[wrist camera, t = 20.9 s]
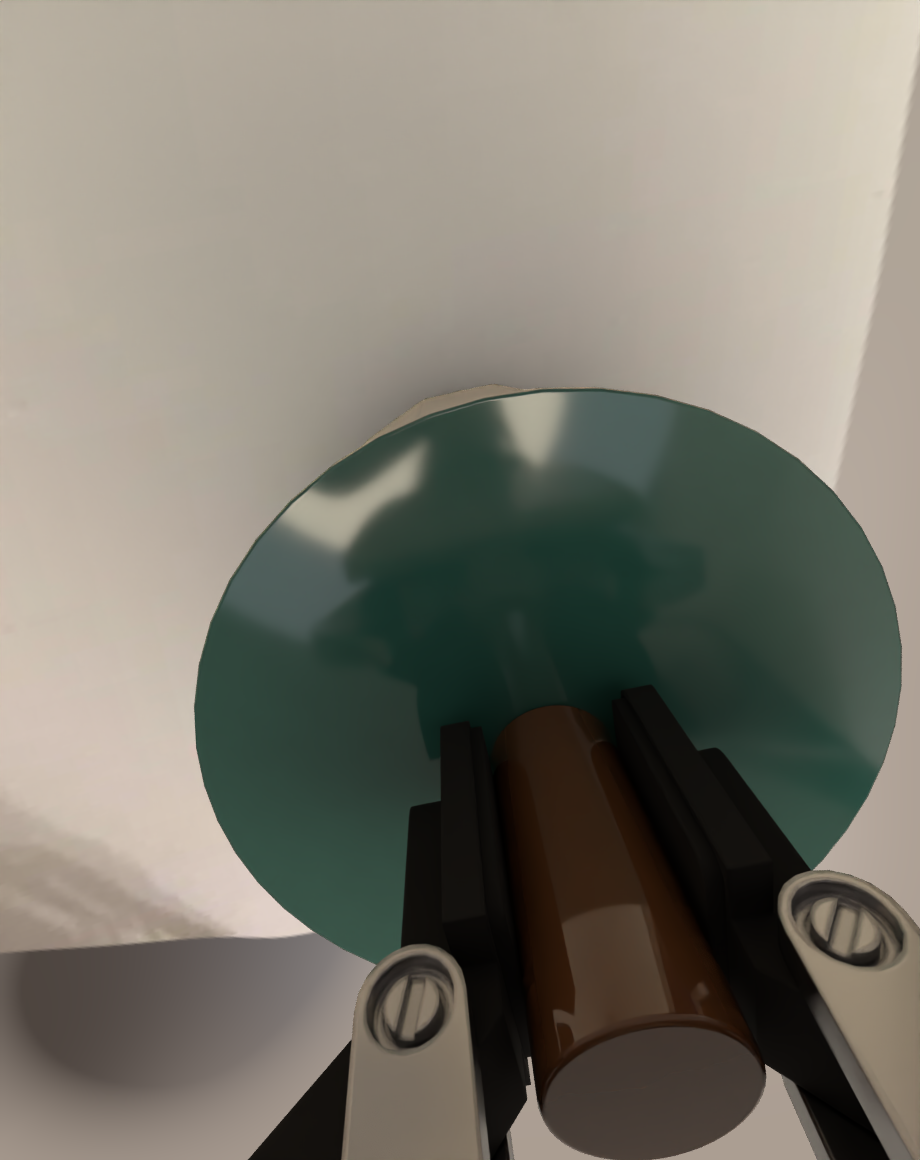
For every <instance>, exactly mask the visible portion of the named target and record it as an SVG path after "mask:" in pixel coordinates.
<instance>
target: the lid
mask: <svg viewBox="0 0 920 1160" xmlns="http://www.w3.org/2000/svg"><path fill="white" fill-rule="evenodd" d="M901 653H902V646H901V639H900V633H899V626H898V620H897V613H896V608H895V604H894V600H893V598H892V595H891V592H890V588H889V586H888V582H887V579H886V576H885V573H884V571H883V567H882V565H881V563H880V561H879V560H878V558H877V556H876V554H875V552H874V550H873V548H872V547H871V544H870V543H869V541H868V539H867V537H866V535H865V533H864V531H863V530H862V528H861V526H860V525H859V524H858V522H857V521H856V520H855V518H854V517H853V516H852V515H851V513H850V512H849V511H848V510H847V508H846V507H845V506H844V504H843V503H842V502H841V500H840V499H839V498H838V496H837V495H836V494H835V493H834V491H833V490H832V489H831V488H829V487H828V486H827V485H826V484H825V483H824V482H823V481H822V480H821V479H820V478H819V477H818V476H816V475H815V474H814V473H813V472H812V471H811V470H810V469H809V468H808V467H807V466H806V465H805V464H803V463H802V462H801V461H800V460H799V459H798V458H796V457H795V456H793V455H792V454H790V453H789V452H787V451H786V450H784V449H783V448H781V447H780V446H778V445H777V444H775V443H774V442H772V441H771V440H769V439H768V438H766V437H765V436H763V435H761V434H760V433H758V432H757V431H755V430H753V429H750V428H748V427H746V426H744V425H742V424H739V423H737V422H735V421H733V420H731V419H728V418H726V417H724V416H722V415H720V414H717V413H715V412H713V411H711V410H708V409H705V408H701V407H698V406H694V405H690V404H687V403H683V402H680V401H676V400H673V399H669V398H666V397H662V396H659V395H653V394H645V393H638V392H630V391H622V390H614V389H607V388H599V387H555V388H534V389H527V390H521V391H514V392H507V393H501V394H494V395H487V396H482V397H479V398H476V399H472V400H469V401H465V402H462V403H459V404H455V405H452V406H448V407H445V408H442V409H438V410H435V411H431V412H429V413H427V414H424V415H422V416H420V417H418V418H416V419H413V420H411V421H409V422H407V423H404V424H402V425H400V426H398V427H395V428H393V429H391V430H389V431H387V432H384V433H382V434H380V435H378V436H377V437H375V438H374V439H372V440H371V441H369V442H367V443H366V444H364V445H363V446H361V447H359V448H358V449H356V450H355V451H353V452H351V453H350V454H348V455H347V456H345V457H343V458H342V459H340V460H339V461H337V462H335V463H334V464H333V465H332V466H331V467H329V468H328V469H327V470H326V471H325V472H323V473H322V474H321V475H320V476H319V477H318V478H316V479H315V480H314V481H313V482H312V483H310V484H309V485H308V486H307V487H306V488H304V489H303V490H302V491H301V492H300V493H299V494H297V495H296V496H295V497H294V498H293V499H292V500H291V501H290V502H289V503H288V504H287V505H286V506H285V507H284V508H283V509H282V511H281V512H280V513H279V514H278V515H277V516H276V517H275V518H274V520H273V521H272V522H271V523H270V524H269V525H268V526H267V527H266V529H265V530H264V531H263V532H262V533H261V534H260V535H259V536H258V538H257V539H256V540H255V542H254V543H253V545H252V546H251V548H250V549H249V551H248V552H247V554H246V555H245V557H244V559H243V560H242V562H241V563H240V565H239V566H238V568H237V569H236V571H235V572H234V574H233V575H232V577H231V578H230V580H229V582H228V584H227V587H226V589H225V591H224V593H223V595H222V598H221V600H220V602H219V604H218V606H217V609H216V611H215V613H214V615H213V617H212V620H211V622H210V625H209V629H208V633H207V636H206V640H205V644H204V647H203V651H202V654H201V658H200V662H199V667H198V676H197V685H196V694H195V703H194V712H195V733H196V749H197V754H198V758H199V763H200V768H201V773H202V777H203V782H204V786H205V789H206V792H207V794H208V797H209V799H210V802H211V805H212V807H213V810H214V813H215V815H216V818H217V821H218V823H219V824H220V826H221V828H222V830H223V831H224V833H225V835H226V837H227V839H228V840H229V842H230V844H231V846H232V848H233V849H234V851H235V853H236V854H237V856H238V857H239V858H240V860H241V861H242V862H243V864H244V865H245V866H246V868H247V869H248V870H249V871H250V873H251V874H252V875H253V877H254V878H255V879H256V881H257V882H258V883H259V884H260V885H261V886H262V887H263V888H264V889H265V890H266V891H267V892H268V893H269V894H270V895H271V896H272V897H273V898H274V899H275V900H276V901H277V902H278V903H279V904H280V905H281V906H282V907H283V908H284V909H285V910H286V911H288V912H289V913H290V914H292V915H293V916H294V917H295V918H297V919H298V920H299V921H301V922H302V923H303V924H304V925H306V926H307V927H308V928H309V929H311V930H312V931H314V932H315V933H317V934H319V935H320V936H322V937H324V938H325V939H327V940H329V941H330V942H332V943H334V944H335V945H337V946H339V947H340V948H342V949H343V950H346V951H348V952H350V953H352V954H354V955H356V956H358V957H361V958H363V959H365V960H367V961H369V962H371V963H374V964H376V965H377V964H378V963H379V962H380V961H381V960H382V959H384V958H385V957H387V956H388V955H389V954H391V953H392V952H393V951H396V950H398V949H401V934H402V919H403V903H404V887H405V871H406V855H407V839H408V823H409V812H410V808H411V806H416V805H422V804H427V803H432V802H437V801H441V774H440V727H441V726H444V725H449V724H454V723H459V722H464V721H469V722H470V726H471V728H474V727H480V726H481V727H482V730H483V734H484V739H485V743H486V747H487V752H488V756H489V760H490V764H491V769H492V773H493V778H494V786H495V793H496V800H497V807H498V814H499V822H500V829H501V836H502V843H503V851H504V858H505V865H506V872H507V879H508V887H509V894H510V901H511V908H512V916H513V923H514V930H515V937H516V944H517V952H518V959H519V966H520V973H521V981H522V993H523V1001H524V1008H525V1015H526V1023H527V1030H528V1037H529V1044H530V1052H531V1059H532V1066H533V1074H534V1081H535V1088H536V1095H537V1102H538V1108H539V1111H540V1114H541V1116H542V1118H543V1120H544V1122H545V1124H546V1126H547V1127H548V1129H549V1130H550V1132H551V1133H552V1134H553V1135H554V1136H555V1137H556V1138H557V1139H559V1140H560V1141H561V1142H563V1143H564V1144H566V1145H567V1146H569V1147H571V1148H573V1149H575V1150H577V1151H579V1152H582V1153H584V1154H588V1155H591V1156H594V1157H599V1158H604V1159H611V1160H652V1159H660V1158H665V1157H671V1156H675V1155H679V1154H682V1153H686V1152H689V1151H692V1150H695V1149H698V1148H700V1147H703V1146H705V1145H707V1144H709V1143H711V1142H714V1141H715V1140H717V1139H719V1138H721V1137H722V1136H724V1135H726V1134H727V1133H729V1132H730V1131H732V1130H733V1129H735V1128H736V1127H737V1126H738V1125H739V1124H741V1123H742V1122H743V1121H744V1120H745V1119H746V1118H747V1117H748V1116H749V1115H750V1114H751V1113H752V1111H753V1110H754V1109H755V1107H756V1105H757V1104H758V1103H759V1101H760V1099H761V1097H762V1095H763V1092H764V1088H765V1083H766V1070H765V1062H764V1058H763V1055H762V1052H761V1050H760V1048H759V1046H758V1044H757V1041H756V1039H755V1037H754V1035H753V1033H752V1031H751V1029H750V1027H749V1025H748V1023H747V1020H746V1018H745V1016H744V1014H743V1012H742V1010H741V1008H740V1006H739V1004H738V1001H737V999H736V997H735V995H734V993H733V991H732V989H731V987H730V985H729V983H728V980H727V978H726V976H725V974H724V972H723V970H722V968H721V966H720V964H719V962H718V959H717V957H716V955H715V953H714V951H713V949H712V947H711V945H710V943H709V941H708V938H707V936H706V934H705V932H704V930H703V928H702V926H701V924H700V922H699V920H698V917H697V915H696V913H695V911H694V909H693V907H692V905H691V903H690V901H689V898H688V896H687V894H686V892H685V890H684V888H683V886H682V884H681V882H680V880H679V877H678V875H677V873H676V871H675V869H674V867H673V865H672V863H671V861H670V859H669V856H668V854H667V852H666V850H665V848H664V846H663V844H662V842H661V840H660V838H659V835H658V833H657V831H656V829H655V827H654V825H653V823H652V821H651V819H650V817H649V814H648V812H647V810H646V808H645V806H644V804H643V802H642V800H641V798H640V796H639V793H638V791H637V789H636V787H635V785H634V783H633V781H632V779H631V777H630V774H629V772H628V770H627V768H626V766H625V764H624V762H623V760H622V758H621V756H620V753H619V751H618V749H617V741H616V734H615V726H614V718H613V711H612V700H615V699H620V698H621V691H622V690H624V689H629V688H634V687H639V686H644V685H649V684H651V685H653V686H654V688H655V689H656V690H657V692H658V693H659V695H660V696H661V698H662V699H663V701H664V702H665V704H666V705H667V707H668V708H669V710H670V711H671V712H672V714H673V715H674V717H675V718H676V720H677V721H678V723H679V724H680V726H681V727H682V729H683V730H684V732H685V733H686V734H687V736H688V737H689V739H690V740H691V742H692V743H693V745H694V746H695V748H696V749H697V751H699V750H704V749H709V748H714V747H716V748H718V749H720V750H721V751H722V752H723V753H724V754H725V755H726V757H727V758H728V759H729V761H730V762H731V763H732V765H733V766H734V767H735V769H736V770H737V771H738V773H739V774H740V775H741V777H742V778H743V779H744V781H745V782H746V783H747V785H748V786H749V787H750V789H751V790H752V791H753V793H754V794H755V796H756V797H757V798H758V800H759V801H760V802H761V804H762V805H763V806H764V808H765V809H766V810H767V812H768V813H769V814H770V816H771V817H772V818H773V820H774V821H775V822H776V824H777V825H778V826H779V828H780V829H781V830H782V832H783V833H784V834H785V836H786V837H787V838H788V840H789V841H790V842H791V844H792V845H793V846H794V848H795V849H796V850H797V852H798V853H799V854H800V856H801V857H802V859H803V860H804V861H805V863H806V864H807V865H808V867H809V868H810V869H811V871H812V870H813V869H814V868H815V867H816V866H817V865H818V864H819V863H820V862H821V861H822V860H823V859H824V858H825V857H826V856H827V854H828V853H829V852H830V851H831V849H832V848H833V847H834V846H835V844H836V843H837V842H838V841H839V839H840V838H841V837H842V836H843V834H844V833H845V832H846V831H847V829H848V828H849V826H850V824H851V823H852V821H853V820H854V818H855V816H856V815H857V813H858V812H859V810H860V808H861V807H862V805H863V803H864V802H865V800H866V799H867V797H868V795H869V793H870V791H871V789H872V786H873V784H874V782H875V780H876V777H877V776H878V773H879V771H880V769H881V767H882V765H883V763H884V760H885V756H886V753H887V750H888V747H889V744H890V740H891V737H892V734H893V731H894V727H895V723H896V717H897V710H898V705H899V698H900V692H901V671H902V668H901V666H902V654H901Z"/></svg>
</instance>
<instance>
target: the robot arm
mask: <svg viewBox="0 0 920 1160" xmlns="http://www.w3.org/2000/svg"><path fill="white" fill-rule="evenodd" d="M612 711H613V718H614V726H615V734H616V741H617V749H618V751H619V753H620V756H621V758H622V760H623V762H624V764H625V766H626V768H627V770H628V772H629V774H630V777H631V779H632V781H633V783H634V785H635V787H636V789H637V791H638V793H639V796H640V798H641V800H642V802H643V804H644V806H645V808H646V810H647V812H648V814H649V817H650V819H651V821H652V823H653V825H654V827H655V829H656V831H657V833H658V835H659V838H660V840H661V842H662V844H663V846H664V848H665V850H666V852H667V854H668V856H669V859H670V861H671V863H672V865H673V867H674V869H675V871H676V873H677V875H678V877H679V880H680V882H681V884H682V886H683V888H684V890H685V892H686V894H687V896H688V898H689V901H690V903H691V905H692V907H693V909H694V911H695V913H696V915H697V917H698V920H699V922H700V924H701V926H702V928H703V930H704V932H705V934H706V936H707V938H708V941H709V943H710V945H711V947H712V949H713V951H714V953H715V955H716V957H717V959H718V962H719V964H720V966H721V968H722V970H723V972H724V974H725V976H726V978H727V980H728V983H729V985H730V987H731V989H732V991H733V993H734V995H735V997H736V999H737V1001H738V1004H739V1006H740V1008H741V1010H742V1012H743V1014H744V1016H745V1018H746V1020H747V1023H748V1025H749V1027H750V1029H751V1031H752V1033H753V1035H754V1037H755V1039H756V1041H757V1044H758V1046H759V1048H760V1050H761V1052H762V1055H763V1058H764V1062H765V1064H766V1065H767V1066H769V1067H771V1068H772V1069H774V1070H775V1071H777V1072H779V1073H780V1074H781V1075H782V1079H783V1082H784V1085H785V1088H786V1090H787V1092H788V1094H789V1097H790V1099H791V1101H792V1104H793V1106H794V1108H795V1110H796V1113H797V1115H798V1117H799V1119H800V1122H801V1124H802V1126H803V1128H804V1131H805V1133H806V1135H807V1138H808V1139H809V1142H810V1144H811V1147H812V1149H813V1151H814V1153H815V1156H816V1158H817V1160H920V929H919V927H918V926H917V925H916V923H915V922H914V921H913V920H912V918H911V917H910V916H909V915H908V913H907V912H906V911H905V910H904V909H903V908H902V907H901V906H900V905H899V904H898V903H897V902H896V901H895V900H894V899H893V898H892V897H890V896H889V895H888V894H886V893H885V892H883V891H882V890H880V889H879V888H877V887H876V886H874V885H873V884H871V883H869V882H866V881H864V880H862V879H859V878H857V877H854V876H852V875H849V874H845V873H840V872H835V871H830V870H819V871H818V870H817V871H811V869H810V868H809V867H808V865H807V864H806V863H805V861H804V860H803V859H802V857H801V856H800V854H799V853H798V852H797V850H796V849H795V848H794V846H793V845H792V844H791V842H790V841H789V840H788V838H787V837H786V836H785V834H784V833H783V832H782V830H781V829H780V828H779V826H778V825H777V824H776V822H775V821H774V820H773V818H772V817H771V816H770V814H769V813H768V812H767V810H766V809H765V808H764V806H763V805H762V804H761V802H760V801H759V800H758V798H757V797H756V796H755V794H754V793H753V791H752V790H751V789H750V787H749V786H748V785H747V783H746V782H745V781H744V779H743V778H742V777H741V775H740V774H739V773H738V771H737V770H736V769H735V767H734V766H733V765H732V763H731V762H730V761H729V759H728V758H727V757H726V755H725V754H724V753H723V752H722V751H721V750H720V749H718V748H716V747H714V748H709V749H704V750H699V751H697V749H696V748H695V746H694V745H693V743H692V742H691V740H690V739H689V737H688V736H687V734H686V733H685V732H684V730H683V729H682V727H681V726H680V724H679V723H678V721H677V720H676V718H675V717H674V715H673V714H672V712H671V711H670V710H669V708H668V707H667V705H666V704H665V702H664V701H663V699H662V698H661V696H660V695H659V693H658V692H657V690H656V689H655V688H654V686H653V685H651V684H649V685H644V686H639V687H634V688H629V689H624V690H622V691H621V698H620V699H615V700H612ZM440 774H441V801H437V802H432V803H427V804H422V805H416V806H411V808H410V812H409V823H408V839H407V855H406V871H405V887H404V903H403V919H402V934H401V949H398V950H396V951H393V952H392V953H391V954H389V955H388V956H387V957H385V958H384V959H382V960H381V961H380V962H379V963H378V964H377V965H376V966H375V967H374V969H373V970H372V971H371V972H370V973H369V975H368V976H367V978H366V980H365V981H364V984H363V985H362V987H361V989H360V991H359V993H358V997H357V1002H356V1006H355V1011H354V1019H353V1031H352V1040H351V1041H350V1042H349V1043H348V1044H347V1045H346V1047H345V1048H344V1049H343V1050H342V1051H341V1052H340V1054H339V1055H338V1056H337V1057H336V1058H335V1059H334V1060H333V1062H332V1063H331V1064H330V1065H329V1066H328V1068H327V1069H326V1070H325V1071H324V1072H323V1073H322V1074H321V1076H320V1077H319V1078H318V1079H317V1080H316V1081H315V1083H314V1084H313V1085H312V1086H311V1087H310V1088H309V1090H308V1091H307V1092H306V1093H305V1094H304V1095H303V1097H302V1098H301V1099H300V1100H299V1101H298V1102H297V1104H296V1105H295V1106H294V1107H293V1108H292V1109H291V1111H290V1112H289V1113H288V1114H287V1115H286V1116H285V1117H284V1119H283V1120H282V1121H281V1122H280V1123H279V1124H278V1126H277V1127H276V1128H275V1129H274V1130H273V1131H272V1132H271V1134H270V1135H269V1136H268V1137H267V1138H266V1139H265V1141H264V1142H263V1143H262V1144H261V1145H260V1146H259V1148H258V1149H257V1150H256V1151H255V1152H254V1153H253V1155H252V1156H251V1157H250V1158H249V1159H248V1160H514V1154H513V1147H512V1139H511V1132H510V1128H511V1126H512V1124H513V1123H514V1121H515V1119H516V1118H517V1116H518V1114H519V1113H520V1111H521V1109H522V1108H523V1106H524V1104H525V1103H526V1101H527V1094H526V1086H527V1085H531V1082H530V1074H529V1067H528V1059H527V1057H531V1052H530V1044H529V1037H528V1030H527V1023H526V1015H525V1008H524V1001H523V993H522V981H521V973H520V966H519V959H518V952H517V944H516V937H515V930H514V923H513V916H512V908H511V901H510V894H509V887H508V879H507V872H506V865H505V858H504V851H503V843H502V836H501V829H500V822H499V814H498V807H497V800H496V793H495V786H494V778H493V773H492V769H491V764H490V760H489V756H488V752H487V747H486V743H485V739H484V734H483V730H482V727H481V726H480V727H474V728H471V726H470V722H469V721H464V722H459V723H454V724H449V725H444V726H441V727H440Z"/></svg>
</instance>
